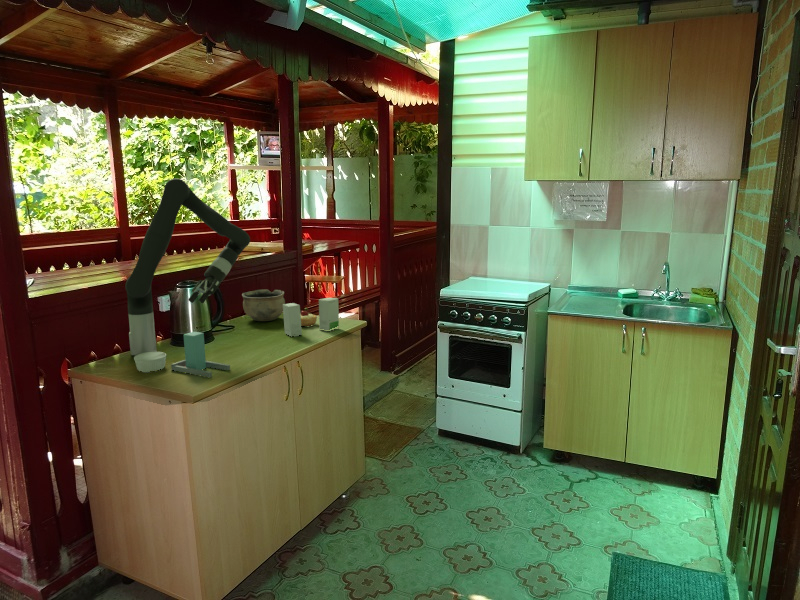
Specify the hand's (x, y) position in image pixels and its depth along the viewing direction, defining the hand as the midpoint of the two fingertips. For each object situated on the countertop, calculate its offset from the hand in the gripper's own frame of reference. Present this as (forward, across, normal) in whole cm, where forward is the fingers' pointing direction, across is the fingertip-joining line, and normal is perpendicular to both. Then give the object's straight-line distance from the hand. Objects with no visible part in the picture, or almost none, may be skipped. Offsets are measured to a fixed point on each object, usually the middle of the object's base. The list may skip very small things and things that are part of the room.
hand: (195, 301), depth 211 cm
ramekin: (+30, -2, +3) cm, 31 cm away
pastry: (-30, -15, +60) cm, 69 cm away
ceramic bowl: (-27, -39, +53) cm, 71 cm away
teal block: (+23, +11, +12) cm, 28 cm away
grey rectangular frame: (+23, +14, +12) cm, 30 cm away
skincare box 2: (-30, +1, +63) cm, 70 cm away
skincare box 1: (-18, -4, +50) cm, 53 cm away
